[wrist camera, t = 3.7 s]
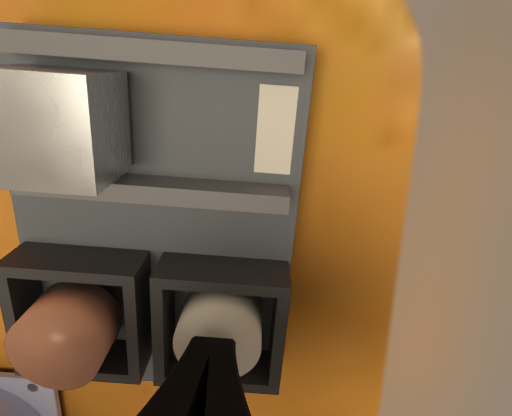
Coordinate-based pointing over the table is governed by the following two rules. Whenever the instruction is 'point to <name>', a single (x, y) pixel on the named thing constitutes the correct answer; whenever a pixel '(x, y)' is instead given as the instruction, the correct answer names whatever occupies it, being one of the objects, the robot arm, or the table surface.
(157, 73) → the control panel
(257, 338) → the cream button
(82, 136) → the slider knob
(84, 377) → the terracotta button
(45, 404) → the robot arm
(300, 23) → the table surface
